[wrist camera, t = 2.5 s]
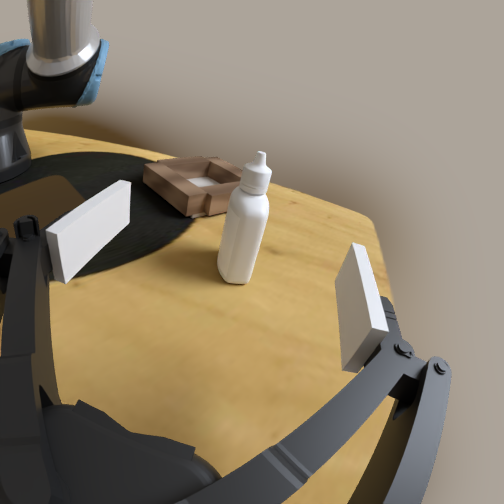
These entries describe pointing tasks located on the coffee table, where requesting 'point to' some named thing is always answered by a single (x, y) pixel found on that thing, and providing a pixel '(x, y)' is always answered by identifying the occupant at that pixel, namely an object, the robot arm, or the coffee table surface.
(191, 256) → the coffee table surface
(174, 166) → the socket block
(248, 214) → the eye dropper bottle
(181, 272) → the coffee table surface
